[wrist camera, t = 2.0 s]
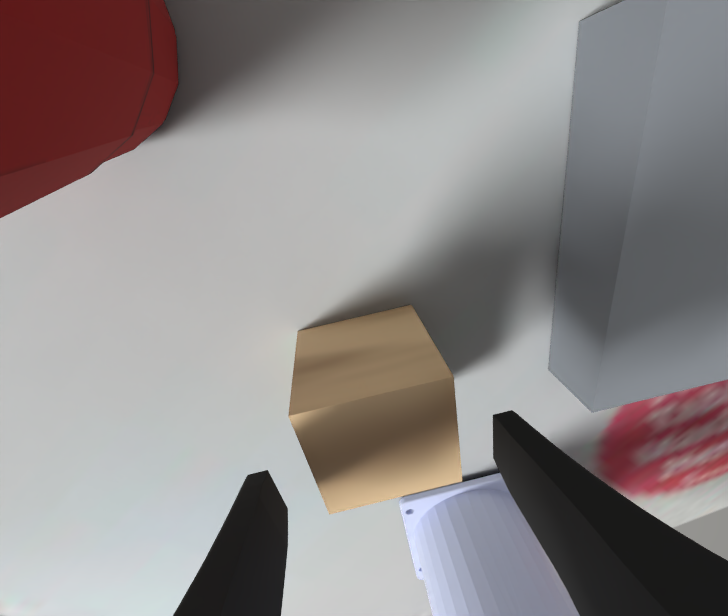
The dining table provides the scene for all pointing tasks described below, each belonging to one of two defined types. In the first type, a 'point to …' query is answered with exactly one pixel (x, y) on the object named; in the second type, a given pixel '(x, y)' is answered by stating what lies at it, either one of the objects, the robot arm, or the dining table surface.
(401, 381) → the oak cube
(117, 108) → the plastic cup
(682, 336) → the slate base
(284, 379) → the dining table surface
